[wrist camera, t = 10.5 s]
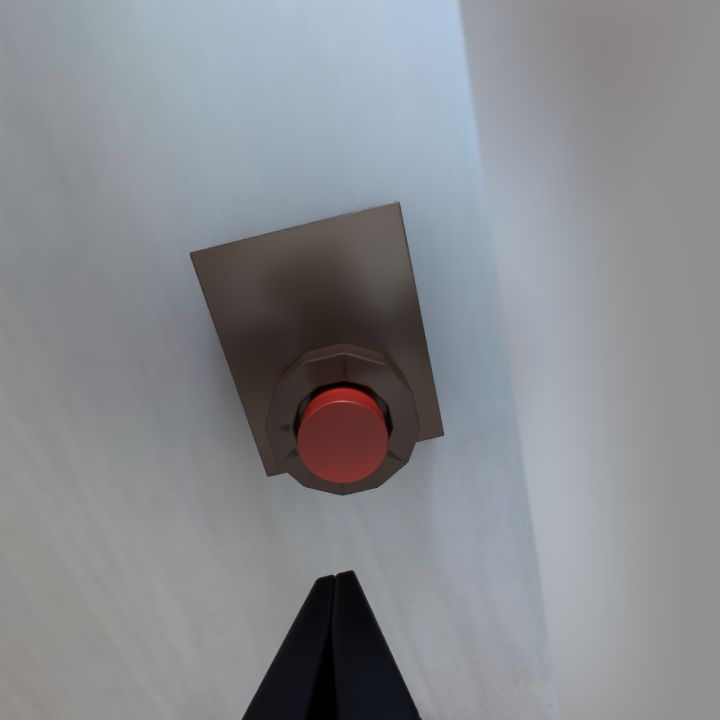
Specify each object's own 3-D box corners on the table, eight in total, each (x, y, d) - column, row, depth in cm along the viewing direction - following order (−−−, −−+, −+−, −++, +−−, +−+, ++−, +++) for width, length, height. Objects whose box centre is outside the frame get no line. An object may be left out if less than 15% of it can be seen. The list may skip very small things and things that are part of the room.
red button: (391, 450, 17) (397, 472, 15) (314, 469, 17) (310, 492, 15) (374, 376, 16) (377, 391, 14) (291, 396, 16) (285, 413, 14)
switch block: (436, 429, 21) (458, 469, 17) (278, 466, 21) (264, 514, 17) (392, 206, 17) (406, 193, 14) (207, 252, 18) (168, 252, 14)
